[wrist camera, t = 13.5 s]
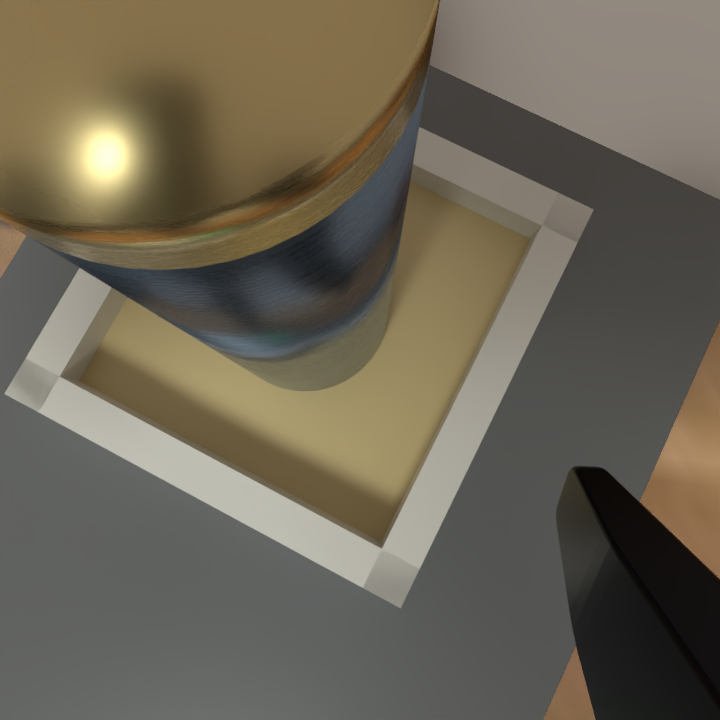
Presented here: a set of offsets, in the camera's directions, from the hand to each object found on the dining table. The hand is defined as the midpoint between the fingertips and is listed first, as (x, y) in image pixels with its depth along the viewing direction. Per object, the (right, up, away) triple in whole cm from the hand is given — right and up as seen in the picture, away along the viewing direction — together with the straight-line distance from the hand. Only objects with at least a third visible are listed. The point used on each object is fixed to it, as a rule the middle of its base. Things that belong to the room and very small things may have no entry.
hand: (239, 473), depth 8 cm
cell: (0, +3, +8) cm, 8 cm away
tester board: (-1, -1, +9) cm, 9 cm away
